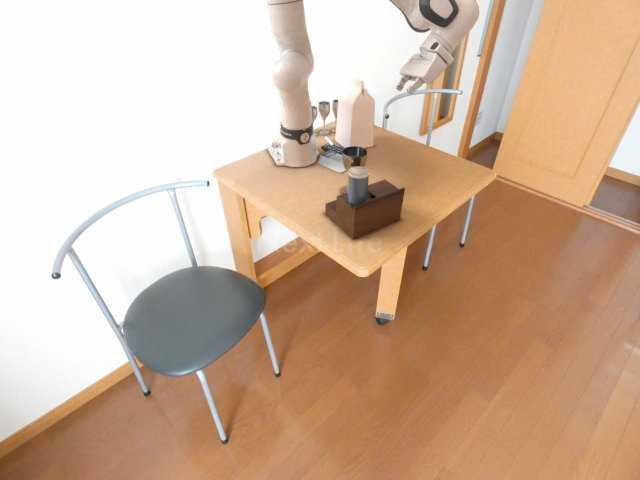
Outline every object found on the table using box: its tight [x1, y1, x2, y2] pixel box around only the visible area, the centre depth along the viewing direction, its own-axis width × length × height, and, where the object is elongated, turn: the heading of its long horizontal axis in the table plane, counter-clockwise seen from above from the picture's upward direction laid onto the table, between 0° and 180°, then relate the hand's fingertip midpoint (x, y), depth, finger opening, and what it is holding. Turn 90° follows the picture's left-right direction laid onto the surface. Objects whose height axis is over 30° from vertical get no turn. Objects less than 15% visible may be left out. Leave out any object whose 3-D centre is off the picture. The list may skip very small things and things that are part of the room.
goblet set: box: [311, 99, 338, 137], centre depth 163 cm, size 28×6×13 cm, turn 112°
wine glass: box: [341, 146, 369, 194], centre depth 123 cm, size 8×8×15 cm
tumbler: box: [347, 166, 371, 205], centre depth 103 cm, size 6×6×9 cm
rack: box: [324, 178, 406, 240], centre depth 113 cm, size 15×18×12 cm
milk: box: [334, 76, 376, 149], centre depth 149 cm, size 12×12×26 cm
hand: (402, 91), depth 115 cm, fingers open, 8 cm apart
